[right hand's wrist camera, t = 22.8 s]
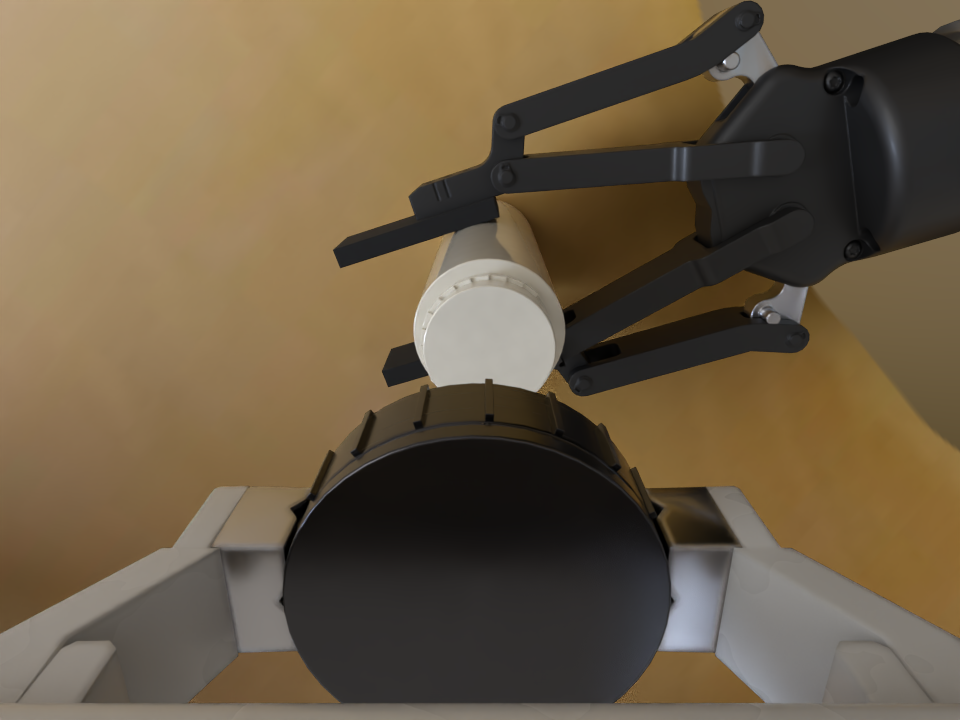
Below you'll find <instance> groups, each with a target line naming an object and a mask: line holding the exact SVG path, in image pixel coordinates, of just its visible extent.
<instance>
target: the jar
mask: <svg viewBox="0 0 960 720" xmlns="http://www.w3.org/2000/svg"><path fill="white" fill-rule="evenodd" d="M497 204H498V207H499V216H500V217H499V218H495V219H492V220H489V221H486V222H483V223H480V224H477V225H473V226H470V227H467V228H464V229H461V230H458V231H455V232H452V233H449V234H445V235H444V236H443V238H442V241H441V244H440V247H439V249H438V252H437V255H436V258H435V260H434V263H433V266H432V269H431V271H430V274H429V277H428V280H427V282H426V285H425V288H424V291H423V293H422V296H421V299H420V302H419V304H418V307H417V311H416V314H415V319H414V342H415V347H416V351H417V354H418V356H419V359H420V361H421V363H422V364H423V366H424V368H425V370H426V371H427V372H428V374H429V376H430V378H431V381H432V382H433V383H434V384H435V385H436V386H437V387H442V386H447V385H456V384H468V383H485V379H493V384H499V385H506V386H512V387H518V388H522V389H526V390H529V391H533V392H537V391H538V390H539V389H540V388H541V387H542V386H543V385H544V383H545V382H546V381H547V379H548V377H549V375H550V373H551V372H552V370H553V369H554V368H555V366H556V364H557V362H558V360H559V358H560V355H561V353H562V350H563V346H564V341H565V320H564V314H563V311H562V308H561V305H560V302H559V300H558V297H557V294H556V292H555V289H554V286H553V284H552V281H551V279H550V276H549V273H548V271H547V268H546V265H545V263H544V260H543V258H542V255H541V252H540V250H539V247H538V244H537V242H536V239H535V237H534V234H533V231H532V229H531V226H530V224H529V222H528V221H527V219H526V218H525V217H524V215H523V214H522V213H521V212H520V211H519V210H518V209H516V208H515V207H513V206H512V205H510V204H508V203H506V202H502V201H499V200H497Z"/></svg>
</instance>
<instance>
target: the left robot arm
mask: <svg viewBox="0 0 960 720" xmlns="http://www.w3.org/2000/svg"><path fill="white" fill-rule="evenodd" d="M763 21H764V14H763V11H762V8H761V7H760V6H759V5H758V4H757V3H755V2H753V1H744V2H741V3H739V4H737V5H734V6H732V7H730V8H727V9H725V10H723V11H721V12H719V13H717V14H715V15H713V16H712V17H711V18H710V19H708V20H707V21H706V22H705V23H703V24H702V25H701V26H700V27H698V28H697V29H696V30H695V31H693V32H692V33H691V34H690V35H688V36H687V37H686V38H685V39H683V40H682V41H681V42H680V43H678V44H677V45H676V46H673V47H670V48H667V49H664V50H661V51H659V52H656V53H653V54H650V55H647V56H644V57H641V58H639V59H636V60H633V61H630V62H627V63H624V64H621V65H619V66H616V67H613V68H610V69H607V70H604V71H601V72H599V73H596V74H593V75H590V76H587V77H584V78H581V79H579V80H576V81H573V82H570V83H567V84H564V85H562V86H559V87H556V88H553V89H550V90H547V91H544V92H542V93H539V94H536V95H533V96H530V97H527V98H524V99H522V100H519V101H516V102H513V103H510V104H507V105H504V106H502V107H501V108H499V109H498V110H497V111H496V112H495V114H494V116H493V124H492V146H491V152H490V154H489V156H488V158H487V159H486V160H485V161H484V162H483V163H482V164H479V165H477V166H474V167H471V168H468V169H465V170H462V171H459V172H456V173H453V174H450V175H447V176H444V177H441V178H438V179H435V180H432V181H429V182H426V183H423V184H422V185H420V186H419V187H418V188H417V189H416V190H415V191H414V192H412V194H411V195H410V196H409V200H410V202H411V205H412V208H413V211H414V214H415V215H414V216H411V217H408V218H405V219H402V220H399V221H396V222H393V223H390V224H387V225H383V226H380V227H377V228H374V229H371V230H368V231H365V232H362V233H359V234H356V235H353V236H350V237H347V238H346V239H345V240H344V241H343V242H341V243H340V244H339V245H338V246H337V247H336V248H335V249H333V251H334V254H335V256H336V259H337V261H338V264H339V266H340V268H342V267H346V266H349V265H352V264H355V263H358V262H361V261H364V260H367V259H371V258H374V257H377V256H380V255H383V254H386V253H389V252H392V251H395V250H399V249H402V248H405V247H408V246H411V245H414V244H417V243H420V242H424V241H427V240H430V239H433V238H436V237H439V236H442V235H445V234H449V233H452V232H455V231H458V230H461V229H464V228H467V227H470V226H473V225H477V224H480V223H483V222H486V221H489V220H492V219H495V218H499V217H500V216H499V207H498V204H497V200H496V197H495V196H498V195H501V194H504V193H506V194H510V193H523V192H536V191H549V190H562V189H575V188H588V187H601V186H614V185H627V184H640V183H653V182H666V181H686V182H687V187H688V189H689V191H690V193H691V195H692V197H693V199H694V201H695V203H696V215H695V227H696V232H694V233H693V234H691V235H689V236H687V237H685V238H684V239H682V240H680V241H679V242H677V243H676V244H675V246H674V247H673V248H672V249H671V250H669V251H668V252H666V253H664V254H662V255H660V256H659V257H657V258H655V259H653V260H652V261H650V262H648V263H646V264H644V265H643V266H641V267H639V268H637V269H635V270H634V271H632V272H630V273H628V274H626V275H625V276H623V277H621V278H619V279H618V280H616V281H614V282H612V283H610V284H609V285H607V286H605V287H603V288H601V289H600V290H598V291H596V292H594V293H592V294H591V295H589V296H587V297H585V298H584V299H582V300H580V301H578V302H576V303H575V304H573V305H571V306H569V307H567V308H566V309H564V310H562V311H563V314H564V320H565V341H564V346H563V350H562V353H561V355H560V358H559V360H558V362H557V364H556V366H555V368H554V369H556V370H558V371H559V373H560V374H561V375H562V376H563V378H564V379H565V380H566V381H567V383H568V384H569V386H570V388H571V390H572V392H573V393H575V394H576V395H579V396H588V395H592V394H595V393H599V392H603V391H606V390H610V389H614V388H617V387H621V386H625V385H628V384H632V383H636V382H639V381H643V380H647V379H650V378H654V377H658V376H661V375H665V374H669V373H672V372H676V371H679V370H683V369H687V368H690V367H694V366H698V365H701V364H705V363H709V362H712V361H716V360H720V359H723V358H727V357H731V356H734V355H738V354H742V353H745V352H749V351H760V352H781V353H795V352H798V351H800V350H802V349H803V348H804V347H805V346H806V345H807V344H808V341H809V332H808V330H807V329H806V328H805V327H803V326H802V325H800V320H801V316H802V312H803V307H804V303H805V299H806V295H807V291H808V287H809V286H812V285H815V284H817V283H819V282H820V281H822V280H823V279H824V278H825V277H827V276H828V275H829V274H830V273H831V272H832V271H834V270H835V269H837V268H838V267H840V266H842V265H844V264H846V263H849V262H852V261H857V260H861V259H866V258H870V257H874V256H878V255H881V254H885V253H888V252H892V251H895V250H898V249H902V248H905V247H909V246H912V245H916V244H919V243H923V242H926V241H929V240H933V239H936V238H940V237H943V236H947V235H950V234H954V233H956V232H959V231H960V20H957V21H954V22H952V23H949V24H947V25H944V26H941V27H940V28H938V29H937V30H936V31H934V32H933V33H929V32H926V33H918V34H915V35H911V36H908V37H905V38H902V39H899V40H896V41H893V42H890V43H887V44H884V45H881V46H878V47H875V48H872V49H868V50H865V51H862V52H859V53H856V54H854V55H850V56H847V57H844V58H841V59H838V60H835V61H832V62H829V63H826V64H823V65H820V66H817V67H813V68H804V67H799V66H795V65H780V66H778V64H777V62H776V61H775V59H774V57H773V55H772V53H771V52H770V50H769V48H768V46H767V45H766V43H765V41H764V39H763V38H762V36H761V34H760V32H759V31H760V29H761V27H762V25H763ZM700 74H702V75H703V76H704V77H705V78H706V79H707V80H709V81H713V82H716V81H724V80H728V79H730V78H733V77H736V78H739V79H741V80H742V81H743V83H744V86H743V87H742V88H741V89H740V91H739V92H738V93H737V94H736V95H735V97H734V98H733V99H732V100H731V102H730V103H729V104H728V105H727V106H726V108H725V109H724V110H723V111H722V113H721V114H720V115H719V116H718V117H717V119H716V120H715V121H714V122H713V124H712V125H711V126H710V127H709V128H708V130H707V131H706V132H705V133H704V135H703V136H702V137H701V138H700V140H692V141H680V142H667V143H660V144H652V145H639V146H627V147H614V148H602V149H589V150H577V151H564V152H551V153H539V154H526V155H523V154H524V138H525V135H528V134H531V133H534V132H537V131H540V130H543V129H545V128H548V127H551V126H554V125H557V124H560V123H563V122H566V121H569V120H572V119H575V118H578V117H580V116H583V115H586V114H589V113H592V112H595V111H598V110H601V109H604V108H607V107H610V106H613V105H615V104H618V103H621V102H624V101H627V100H630V99H633V98H636V97H639V96H642V95H645V94H648V93H650V92H653V91H656V90H659V89H662V88H665V87H668V86H671V85H674V84H677V83H680V82H683V81H685V80H688V79H691V78H693V77H696V76H698V75H700ZM742 270H745V271H748V272H751V273H753V274H756V275H759V276H762V277H765V278H768V279H771V280H774V281H775V282H774V284H773V286H772V287H771V288H770V289H769V290H768V291H766V292H764V293H760V294H756V295H753V296H751V297H748V298H747V299H746V301H745V305H744V307H730V308H723V309H719V310H715V311H711V312H707V313H704V314H700V315H697V316H693V317H690V318H686V319H683V320H679V321H676V322H672V323H669V324H665V325H661V326H658V327H654V328H651V329H647V330H644V331H640V332H637V333H633V334H630V335H626V336H623V337H619V338H616V339H612V340H609V341H605V342H601V341H603V340H604V339H606V338H608V337H610V336H612V335H614V334H615V333H617V332H619V331H621V330H623V329H625V328H627V327H628V326H630V325H632V324H634V323H636V322H638V321H640V320H641V319H643V318H645V317H647V316H649V315H651V314H652V313H654V312H656V311H658V310H660V309H662V308H664V307H665V306H667V305H669V304H671V303H673V302H675V301H676V300H678V299H680V298H682V297H684V296H686V295H688V294H689V293H691V292H693V291H695V290H697V289H699V288H701V287H705V286H712V285H715V284H718V283H720V282H722V281H724V280H725V279H727V278H729V277H731V276H733V275H735V274H737V273H738V272H740V271H742ZM599 342H601V343H599ZM597 343H598V344H597ZM382 373H383V375H384V378H385V380H386V383H387V385H388V387H391V386H394V385H397V384H401V383H404V382H408V381H411V380H414V379H418V378H421V377H425V376H428V375H429V374H428V372H427V371H426V370H425V368H424V366H423V364H422V363H421V361H420V359H419V356H418V354H417V351H416V347H415V342H412V343H409V344H406V345H403V346H399V347H396V348H393V349H391V351H390V353H389V356H388V358H387V360H386V363H385V365H384V368H383V370H382Z"/></svg>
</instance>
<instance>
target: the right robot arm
mask: <svg viewBox="0 0 960 720" xmlns="http://www.w3.org/2000/svg"><path fill="white" fill-rule="evenodd" d="M310 489H311V488H306V487H256V486H252V487H249V486H221V487H218V488H215V489H214V490H213V491H212V492H211V494H210V495H209V497H208V498H207V499H206V501H205V502H204V504H203V505H202V506H201V508H200V509H199V511H198V512H197V513H196V515H195V516H194V518H193V519H192V520H191V522H190V523H189V525H188V526H187V527H186V529H185V530H184V532H183V533H182V534H181V536H180V537H179V539H178V540H177V541H176V543H175V544H174V546H173V547H172V548H161V549H159V550H157V551H155V552H153V553H151V554H150V555H148V556H146V557H144V558H142V559H140V560H138V561H136V562H134V563H133V564H131V565H129V566H127V567H125V568H123V569H121V570H119V571H117V572H116V573H114V574H112V575H110V576H108V577H106V578H104V579H102V580H101V581H99V582H97V583H95V584H93V585H91V586H89V587H87V588H85V589H84V590H82V591H80V592H78V593H76V594H74V595H72V596H70V597H69V598H67V599H65V600H63V601H61V602H59V603H57V604H55V605H53V606H52V607H50V608H48V609H46V610H44V611H42V612H40V613H38V614H36V615H35V616H33V617H31V618H29V619H27V620H25V621H23V622H21V623H20V624H18V625H16V626H14V627H12V628H10V629H8V630H6V631H4V632H3V633H1V634H0V720H960V638H958V637H956V636H954V635H952V634H950V633H948V632H947V631H945V630H943V629H941V628H939V627H937V626H935V625H934V624H932V623H930V622H928V621H926V620H924V619H922V618H921V617H919V616H917V615H915V614H913V613H911V612H909V611H908V610H906V609H904V608H902V607H900V606H898V605H896V604H895V603H893V602H891V601H889V600H887V599H885V598H883V597H881V596H880V595H878V594H876V593H874V592H872V591H870V590H868V589H867V588H865V587H863V586H861V585H859V584H857V583H855V582H854V581H852V580H850V579H848V578H846V577H844V576H842V575H841V574H839V573H837V572H835V571H833V570H831V569H829V568H828V567H826V566H824V565H822V564H820V563H818V562H816V561H815V560H813V559H811V558H809V557H807V556H805V555H803V554H802V553H800V552H798V551H796V550H794V549H792V548H781V547H780V545H779V544H778V543H777V541H776V540H775V538H774V537H773V535H772V534H771V533H770V531H769V530H768V528H767V527H766V526H765V524H764V523H763V521H762V520H761V519H760V517H759V516H758V514H757V513H756V511H755V510H754V509H753V507H752V506H751V504H750V503H749V502H748V500H747V499H746V497H745V496H744V494H743V493H742V492H741V490H740V489H739V488H737V487H735V486H714V487H685V488H646V491H647V493H648V496H649V498H650V500H651V503H652V505H653V507H654V509H655V512H656V514H657V516H658V517H657V518H655V519H652V520H653V523H654V525H655V528H656V530H657V532H658V534H659V537H660V539H661V541H662V544H663V547H664V551H665V554H666V557H667V560H668V563H669V570H670V577H671V607H670V612H669V618H668V623H667V627H666V630H665V633H664V636H663V639H662V641H661V644H660V646H659V648H658V650H657V651H674V652H710V653H715V656H716V657H717V658H719V659H720V660H721V661H722V662H723V663H724V664H725V665H726V666H727V667H728V668H729V669H730V670H731V671H732V672H733V673H735V674H736V675H737V676H738V677H739V678H740V679H741V680H742V681H743V682H744V683H745V684H746V685H747V686H748V687H749V688H751V689H752V690H753V691H754V692H755V693H756V694H757V695H758V696H759V697H760V698H761V699H762V700H763V701H764V702H765V703H188V702H189V701H190V700H191V699H192V698H193V697H194V696H195V695H197V694H198V693H199V692H200V691H201V690H202V689H203V688H204V687H205V686H206V685H207V684H208V683H209V682H211V681H212V680H213V679H214V678H215V677H216V676H217V675H218V674H219V673H220V672H221V671H222V670H223V669H225V668H226V667H227V666H228V665H229V664H230V663H231V662H232V661H233V660H234V659H235V658H236V657H238V653H243V652H278V651H297V649H296V647H295V644H294V642H293V640H292V637H291V635H290V633H289V629H288V625H287V621H286V617H285V613H284V604H283V592H282V589H283V576H284V568H285V564H286V560H287V556H288V552H289V548H290V546H291V544H292V541H293V539H294V537H295V534H296V532H297V530H298V521H299V519H300V517H301V515H302V514H303V513H305V512H306V509H307V507H308V505H309V503H310V501H311V500H309V499H307V495H308V493H309V491H310Z"/></svg>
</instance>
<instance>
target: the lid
mask: <svg viewBox="0 0 960 720" xmlns="http://www.w3.org/2000/svg"><path fill="white" fill-rule="evenodd" d="M307 499H309V500H311V501H310V503H309V505H308V507H307V509H306V512H305V513H303V514H302V515H301V517H300V519H299V521H298V530H297V532H296V534H295V537H294V539H293V541H292V544H291V546H290V548H289V552H288V556H287V560H286V564H285V568H284V576H283V589H282V592H283V604H284V613H285V617H286V621H287V625H288V629H289V633H290V635H291V637H292V640H293V642H294V644H295V647H296V649H297V651H298V653H299V655H300V656H301V658H302V660H303V661H304V663H305V665H306V666H307V668H308V669H309V670H310V672H311V673H312V674H313V675H314V677H315V678H316V679H317V680H318V682H319V683H320V684H321V685H322V686H323V687H324V688H325V689H326V690H327V691H328V692H329V693H330V694H331V695H332V696H333V697H334V698H336V699H337V700H338V701H339V702H341V703H614V702H616V701H617V700H618V699H619V698H621V697H622V696H623V695H624V694H625V693H626V692H627V691H628V690H629V689H630V688H631V687H632V686H633V685H634V684H635V683H636V682H637V681H638V680H639V678H640V677H641V675H642V674H643V673H644V671H645V670H646V669H647V667H648V666H649V664H650V663H651V661H652V659H653V658H654V656H655V654H656V652H657V650H658V648H659V646H660V644H661V641H662V639H663V636H664V633H665V630H666V627H667V623H668V618H669V612H670V607H671V577H670V570H669V563H668V560H667V557H666V554H665V551H664V547H663V544H662V541H661V539H660V537H659V534H658V532H657V530H656V528H655V525H654V523H653V520H652V519H655V518H657V517H658V516H657V514H656V512H655V509H654V507H653V505H652V503H651V500H650V498H649V496H648V493H647V491H646V489H645V487H644V484H643V482H642V480H641V477H640V475H639V473H638V471H637V469H636V467H634V468H632V469H630V468H629V466H628V464H627V462H626V460H625V458H624V457H623V455H622V454H621V453H620V451H619V450H618V448H617V447H616V446H615V444H614V443H613V442H612V441H611V439H610V436H609V434H608V431H607V429H606V427H605V426H604V425H603V424H602V423H600V424H599V425H598V426H596V425H595V424H594V423H592V422H591V421H590V420H589V419H587V418H586V417H585V416H583V415H582V414H580V413H579V412H577V411H575V410H574V409H572V408H570V407H569V406H567V405H565V404H564V403H561V402H559V401H557V399H556V396H555V394H554V393H551V392H548V394H547V395H546V396H545V395H543V394H540V393H536V392H533V391H529V390H526V389H522V388H518V387H512V386H506V385H499V384H493V379H485V383H468V384H456V385H447V386H442V387H438V388H433V389H429V386H428V385H424V386H421V388H420V392H418V393H415V394H413V395H410V396H407V397H404V398H402V399H400V400H398V401H396V402H394V403H392V404H390V405H388V406H385V407H384V408H382V409H381V410H379V411H378V412H376V413H375V414H374V413H373V412H372V410H369V411H368V412H366V413H365V416H364V418H363V421H362V423H361V424H360V425H359V426H358V427H357V428H355V429H354V430H353V431H352V432H351V433H350V434H349V435H348V436H347V437H346V438H345V440H344V441H343V442H342V443H341V444H340V446H339V447H338V448H337V449H336V451H335V452H333V451H331V450H329V451H328V453H327V454H326V456H325V458H324V461H323V463H322V465H321V467H320V469H319V472H318V474H317V476H316V478H315V480H314V482H313V485H312V487H311V489H310V491H309V493H308V495H307Z"/></svg>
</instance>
